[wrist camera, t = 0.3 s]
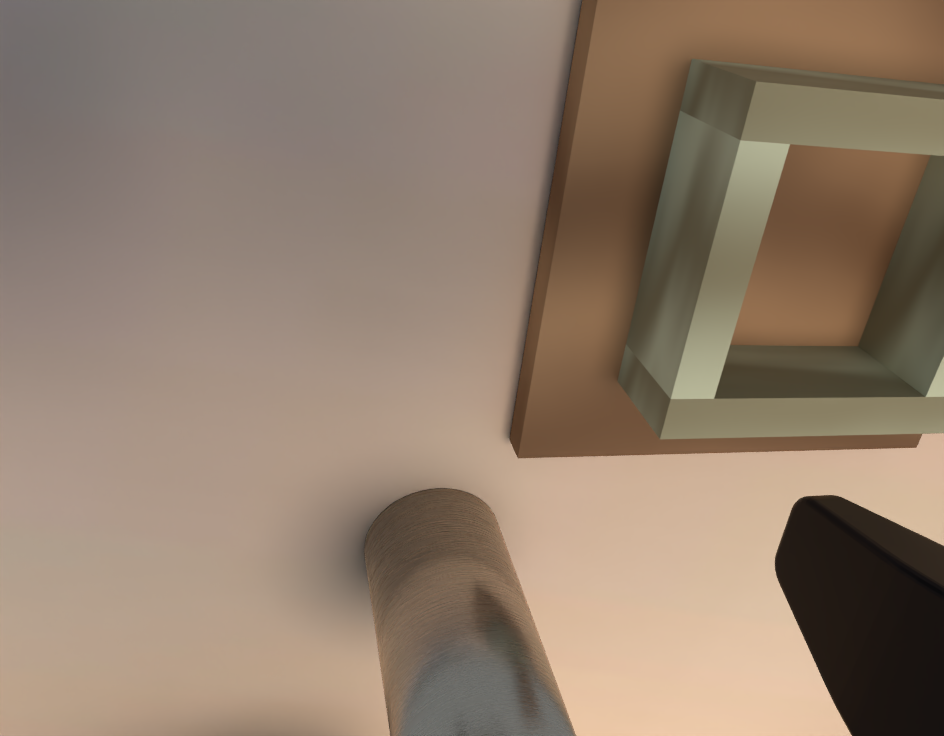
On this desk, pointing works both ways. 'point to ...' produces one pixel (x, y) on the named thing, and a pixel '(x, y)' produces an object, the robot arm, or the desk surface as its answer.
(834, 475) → the desk surface
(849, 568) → the robot arm
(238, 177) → the desk surface
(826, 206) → the dock board
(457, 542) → the peg
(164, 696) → the desk surface
